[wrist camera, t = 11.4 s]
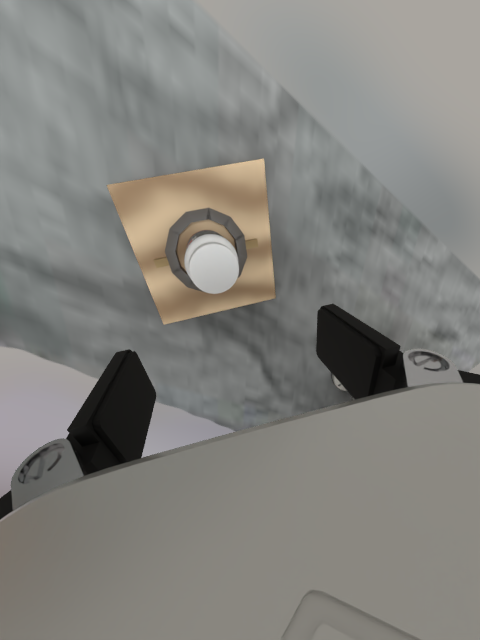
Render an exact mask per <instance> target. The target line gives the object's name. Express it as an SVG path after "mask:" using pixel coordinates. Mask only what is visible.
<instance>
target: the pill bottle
mask: <svg viewBox="0 0 480 640" xmlns="http://www.w3.org/2000/svg"><path fill="white" fill-rule="evenodd" d="M184 264H185V269H186V272H187V274H188V276H189V277H190V278H191V280H192V281H193V283H194V284H195V285H196V286H197V287H198V288H199V289H200V290H202V291H204V292H206V293H211V294H218V293H222V292H225V291H227V290H228V289H230V288H231V287H232V286H233V285H234V283H235V282H236V280H237V278H238V274H239V264H238V256H237V253H236V250H235V248H234V247H233V245H232V244H231V243H230V242H229V241H228V240H227V239H225V238H224V237H223V236H221V235H220V234H219V233H217V232H215V231H212V230H202V231H199V232H197V233H195V234H194V235H193V236H192V237H191V238H190V239H189V241H188V243H187V247H186V252H185V257H184Z"/></svg>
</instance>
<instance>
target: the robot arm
mask: <svg viewBox="0 0 480 640" xmlns="http://www.w3.org/2000/svg"><path fill="white" fill-rule="evenodd" d="M399 350H400V345H398V344H396V343H395V342H393V341H392V340H390V339H389V338H387V337H385V336H384V335H382V334H381V333H379V332H377V331H376V330H374V329H373V328H371V327H370V326H368V325H366V324H365V323H363V322H362V321H360V320H358V319H357V318H355V317H354V316H352V315H350V314H349V313H347V312H346V311H344V310H343V309H341V308H339V307H338V306H336V305H335V304H330V305H325V306H322V307H321V308H320V310H318V317H317V347H316V352H317V355H318V357H319V359H320V360H321V361H322V362H323V363H324V364H325V366H326V367H327V368H328V369H329V370H330V371H331V373H332V380H333V382H334V384H335V385H336V386H337V387H338V388H339V389H341V390H343V391H348V392H349V393H350V395H351V396H352V398H353V399H352V401H348V402H344V403H341V404H337V405H333V406H329V407H326V408H322V409H318V410H314V411H311V412H307V413H303V414H299V415H296V416H292V417H288V418H284V419H281V420H277V421H273V422H270V423H266V424H262V425H259V426H255V427H251V428H248V429H244V430H240V431H237V432H233V433H229V434H226V435H222V436H218V437H215V438H211V439H208V440H204V441H200V442H197V443H193V444H190V445H186V446H183V447H179V448H175V449H172V450H168V451H164V452H161V453H157V454H154V455H150V456H147V457H143V458H141V456H142V452H143V448H144V444H145V440H146V436H147V432H148V428H149V424H150V420H151V416H152V412H153V408H154V403H155V400H156V392H155V389H154V387H153V385H152V383H151V381H150V379H149V377H148V375H147V373H146V371H145V369H144V367H143V365H142V363H141V361H140V359H139V357H138V355H137V353H136V352H132V351H131V350H125V351H120V352H116V353H115V355H114V356H113V358H112V360H111V361H110V363H109V364H108V366H107V367H106V369H105V371H104V372H103V374H102V375H101V377H100V379H99V380H98V382H97V383H96V385H95V387H94V388H93V390H92V391H91V393H90V395H89V396H88V398H87V399H86V401H85V403H84V404H83V406H82V407H81V409H80V410H79V412H78V414H77V415H76V417H75V418H74V420H73V421H72V423H71V425H70V426H69V428H68V429H67V431H68V432H69V435H68V437H67V438H66V439H57V440H54V441H51V442H49V443H47V444H45V445H43V446H42V447H40V448H38V449H37V450H36V451H35V452H33V453H32V454H31V455H30V456H29V457H28V458H26V459H25V461H23V462H22V464H21V465H20V466H19V467H18V469H17V470H16V472H15V473H14V475H13V477H12V481H11V491H9V492H8V493H7V494H5V495H4V496H3V497H1V498H0V640H480V375H478V374H473V373H469V372H464V371H459V370H457V368H456V365H455V364H454V363H453V361H451V360H450V359H449V358H447V357H446V356H444V355H442V354H440V353H437V352H434V351H431V350H426V349H410V350H407V351H405V352H404V353H402V352H400V351H399Z"/></svg>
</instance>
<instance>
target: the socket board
mask: <svg viewBox="0 0 480 640" xmlns="http://www.w3.org/2000/svg"><path fill="white" fill-rule="evenodd" d="M107 187H108V190H109V192H110V194H111V197H112V199H113V202H114V204H115V207H116V209H117V212H118V214H119V216H120V219H121V221H122V224H123V226H124V229H125V231H126V234H127V236H128V238H129V241H130V243H131V246H132V248H133V251H134V253H135V256H136V258H137V260H138V263H139V265H140V268H141V270H142V273H143V275H144V277H145V280H146V282H147V285H148V287H149V290H150V292H151V295H152V297H153V299H154V302H155V304H156V307H157V309H158V312H159V314H160V317H161V319H162V321H163V324H169V323H173V322H177V321H181V320H185V319H190V318H194V317H198V316H202V315H206V314H211V313H215V312H219V311H223V310H228V309H232V308H236V307H240V306H244V305H249V304H253V303H257V302H261V301H265V300H270V299H274V298H276V296H275V284H274V272H273V261H272V249H271V237H270V225H269V213H268V201H267V190H266V178H265V166H264V159H259V160H253V161H247V162H241V163H235V164H229V165H223V166H217V167H211V168H205V169H199V170H193V171H187V172H181V173H175V174H170V175H164V176H158V177H152V178H146V179H140V180H134V181H128V182H122V183H116V184H110V185H107ZM202 230H212V231H215V232H217V233H219V234H220V235H221V236H223V237H224V238H225V239H227V240H228V241H229V242H230V243H231V244H232V245H233V247H234V248H235V250H236V253H237V256H238V264H239V274H238V278H237V280H236V282H235V283H234V285H233V286H232V287H231V288H230V289H228V290H227V291H225V292H222V293H218V294H211V293H206V292H204V291H202V290H200V289H199V288H198V287H197V286H196V285H195V284H194V283H193V281H192V280H191V278H190V277H189V276H188V274H187V272H186V269H185V264H184V257H185V252H186V247H187V243H188V241H189V239H190V238H191V237H192V236H193V235H194V234H195V233H197V232H199V231H202Z"/></svg>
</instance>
